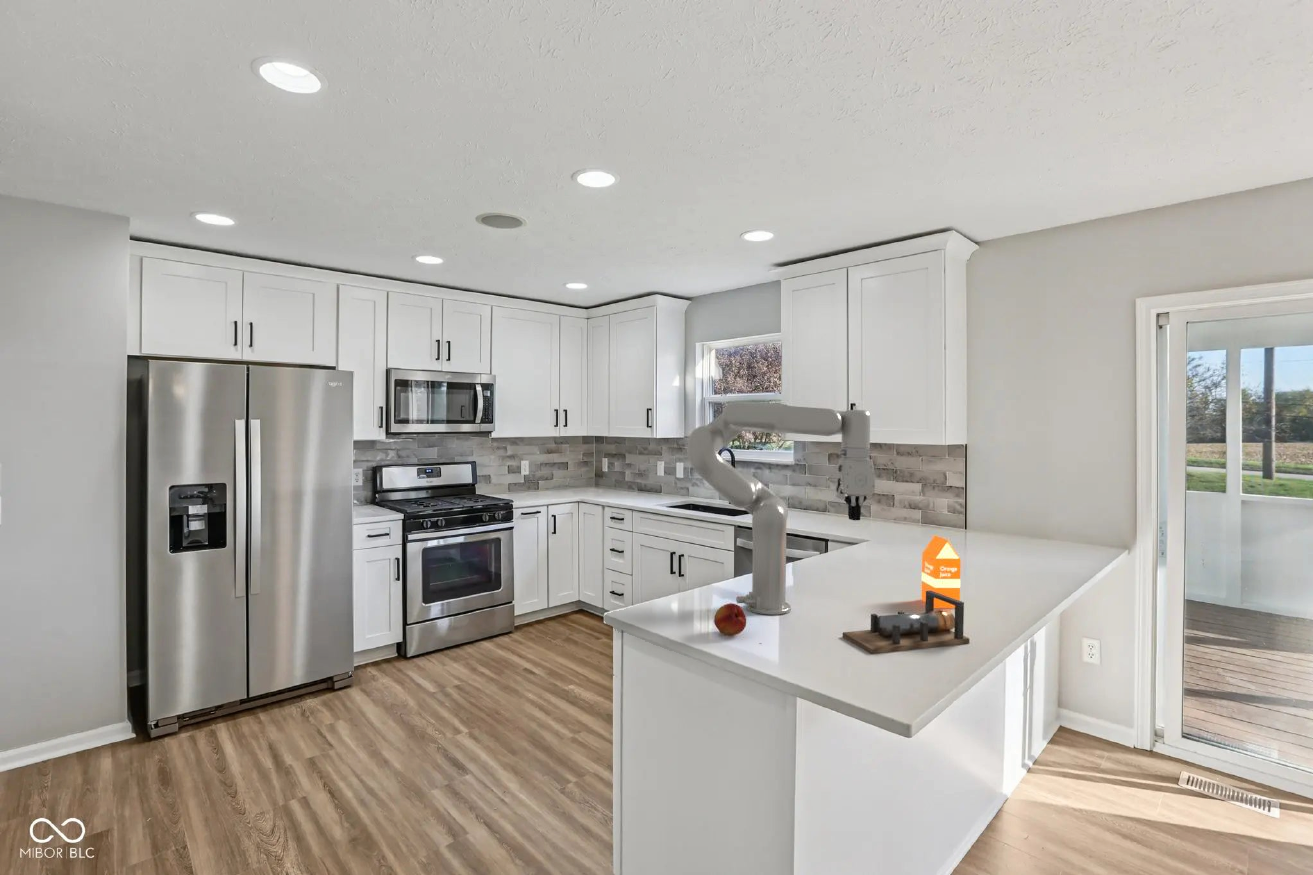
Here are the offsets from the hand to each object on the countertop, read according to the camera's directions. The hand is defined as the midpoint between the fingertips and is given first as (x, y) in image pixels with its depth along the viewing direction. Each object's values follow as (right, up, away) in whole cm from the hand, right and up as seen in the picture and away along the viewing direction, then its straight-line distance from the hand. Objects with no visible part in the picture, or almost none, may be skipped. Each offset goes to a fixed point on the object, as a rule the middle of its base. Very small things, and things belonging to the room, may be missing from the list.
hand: (854, 519), depth 177 cm
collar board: (+7, -28, -19) cm, 34 cm away
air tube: (+10, -26, -17) cm, 33 cm away
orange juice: (+30, -27, +14) cm, 43 cm away
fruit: (-37, -27, -17) cm, 49 cm away
